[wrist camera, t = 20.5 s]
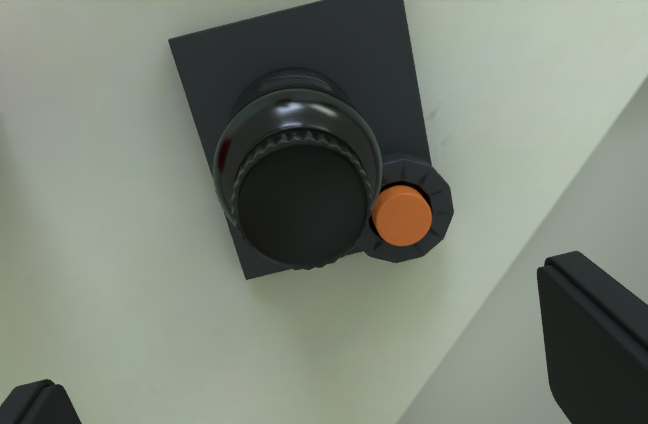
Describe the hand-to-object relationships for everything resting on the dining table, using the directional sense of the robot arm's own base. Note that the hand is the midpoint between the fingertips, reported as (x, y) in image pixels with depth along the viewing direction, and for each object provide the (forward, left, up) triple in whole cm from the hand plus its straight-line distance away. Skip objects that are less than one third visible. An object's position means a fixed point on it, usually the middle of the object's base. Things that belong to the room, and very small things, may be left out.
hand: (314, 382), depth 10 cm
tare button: (-5, -5, -19) cm, 20 cm away
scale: (0, -1, -22) cm, 22 cm away
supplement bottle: (+1, 0, -21) cm, 21 cm away
